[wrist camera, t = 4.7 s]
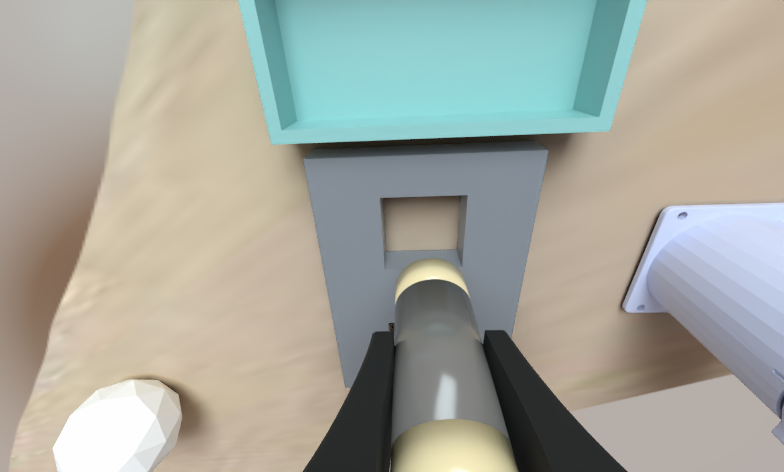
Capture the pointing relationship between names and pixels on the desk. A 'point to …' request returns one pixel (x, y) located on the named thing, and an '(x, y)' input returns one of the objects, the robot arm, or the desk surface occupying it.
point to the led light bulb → (443, 379)
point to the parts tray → (438, 66)
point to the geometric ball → (121, 429)
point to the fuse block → (381, 268)
